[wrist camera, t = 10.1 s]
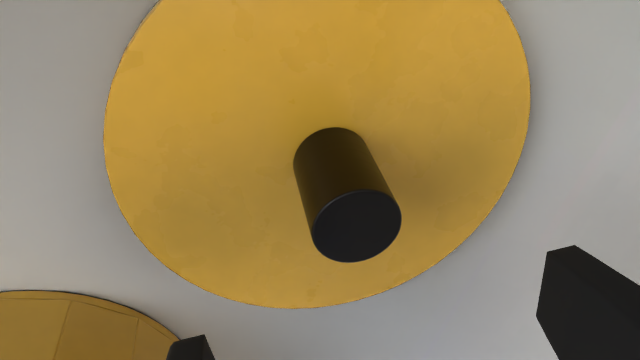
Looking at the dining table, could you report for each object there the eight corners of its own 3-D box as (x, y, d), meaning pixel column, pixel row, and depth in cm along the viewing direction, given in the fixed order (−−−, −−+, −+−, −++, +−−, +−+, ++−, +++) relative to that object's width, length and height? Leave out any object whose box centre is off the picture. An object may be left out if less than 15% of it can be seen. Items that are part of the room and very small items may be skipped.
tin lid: (583, -29, 15) (706, 13, 11) (438, 291, 22) (485, 382, 18) (107, -138, 11) (61, -128, 8) (109, 285, 18) (85, 397, 15)
